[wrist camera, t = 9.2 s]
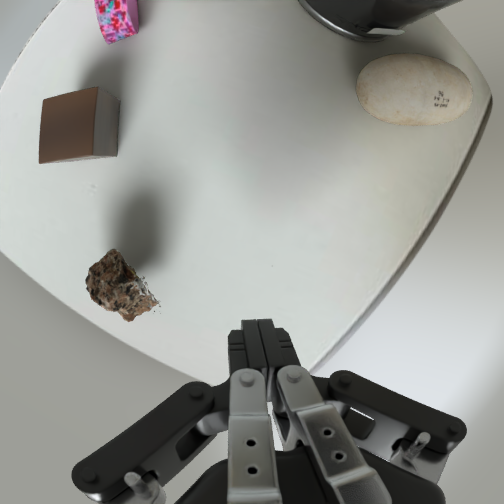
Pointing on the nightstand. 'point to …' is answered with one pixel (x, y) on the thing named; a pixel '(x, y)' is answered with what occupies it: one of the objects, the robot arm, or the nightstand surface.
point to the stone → (413, 90)
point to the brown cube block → (79, 126)
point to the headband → (117, 18)
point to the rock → (118, 287)
